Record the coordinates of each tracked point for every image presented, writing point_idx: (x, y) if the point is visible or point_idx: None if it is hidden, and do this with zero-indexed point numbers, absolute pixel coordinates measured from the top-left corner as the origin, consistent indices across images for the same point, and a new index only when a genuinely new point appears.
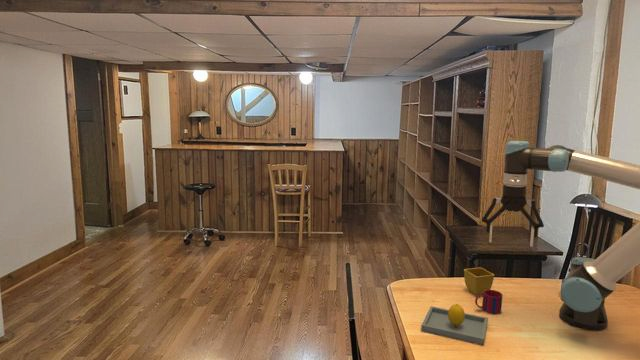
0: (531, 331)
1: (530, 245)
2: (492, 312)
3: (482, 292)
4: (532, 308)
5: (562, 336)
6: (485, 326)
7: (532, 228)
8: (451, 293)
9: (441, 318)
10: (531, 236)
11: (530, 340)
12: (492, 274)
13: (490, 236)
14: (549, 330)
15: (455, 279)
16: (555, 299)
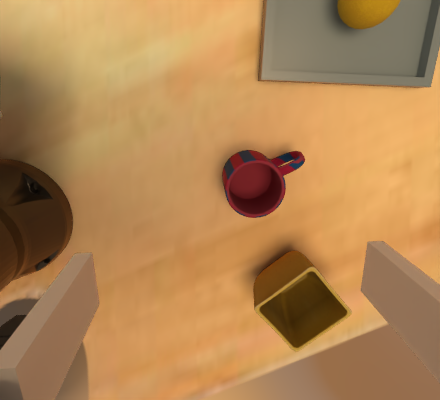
0: (139, 85)
1: (91, 264)
2: (245, 151)
3: (274, 263)
4: (140, 236)
5: (58, 91)
6: (268, 9)
7: (8, 372)
8: (355, 237)
9: (391, 41)
10: (57, 301)
11: (140, 22)
12: (260, 311)
13: (404, 263)
14: (92, 115)
15: (342, 331)
16: None
